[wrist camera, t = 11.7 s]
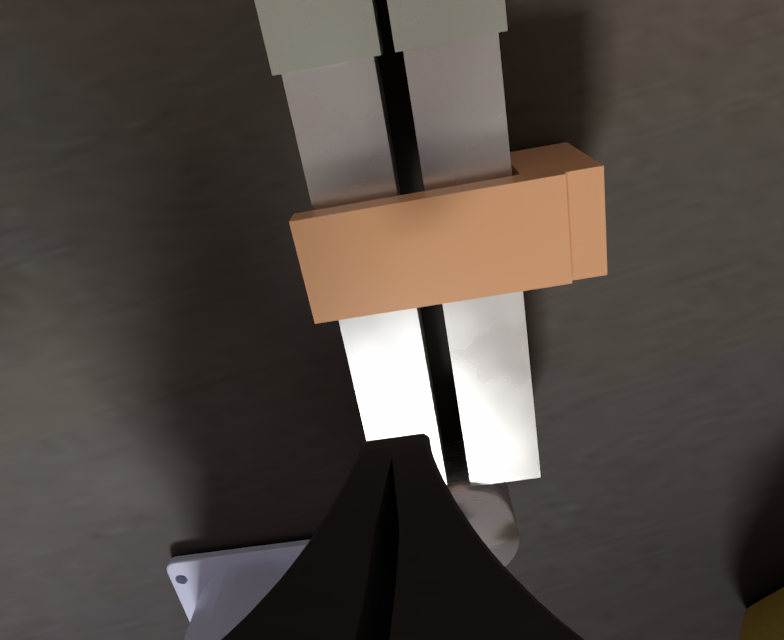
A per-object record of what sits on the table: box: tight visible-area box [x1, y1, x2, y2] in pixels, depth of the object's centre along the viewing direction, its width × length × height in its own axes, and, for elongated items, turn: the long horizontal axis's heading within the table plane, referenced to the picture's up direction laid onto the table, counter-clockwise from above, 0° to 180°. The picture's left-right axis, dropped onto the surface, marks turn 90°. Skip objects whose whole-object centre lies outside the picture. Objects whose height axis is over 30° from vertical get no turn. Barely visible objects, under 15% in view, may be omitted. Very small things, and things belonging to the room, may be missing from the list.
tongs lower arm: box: [387, 0, 541, 487], centre depth 19 cm, size 17×3×3 cm, turn 10°
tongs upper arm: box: [254, 0, 519, 567], centre depth 20 cm, size 21×5×4 cm, turn 10°
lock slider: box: [289, 142, 607, 324], centre depth 18 cm, size 3×8×4 cm, turn 100°
